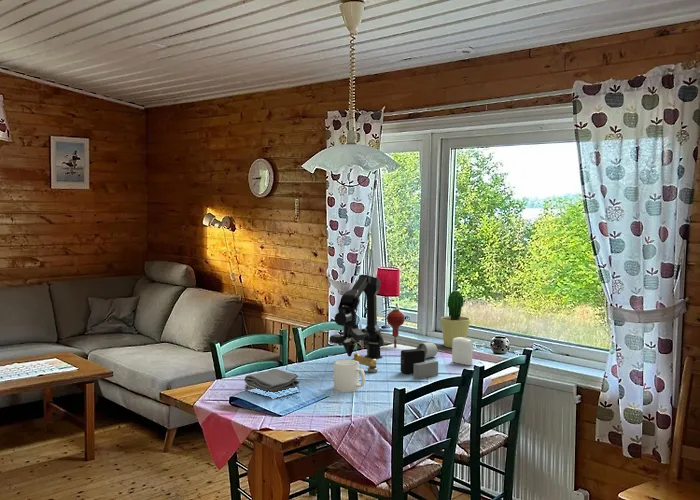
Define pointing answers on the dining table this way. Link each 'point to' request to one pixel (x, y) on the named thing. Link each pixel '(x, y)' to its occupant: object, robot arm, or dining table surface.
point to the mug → (347, 376)
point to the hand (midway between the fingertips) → (349, 356)
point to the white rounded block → (462, 351)
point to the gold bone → (365, 360)
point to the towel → (271, 381)
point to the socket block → (425, 369)
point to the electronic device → (411, 359)
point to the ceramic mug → (428, 349)
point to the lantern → (395, 322)
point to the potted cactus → (454, 320)
